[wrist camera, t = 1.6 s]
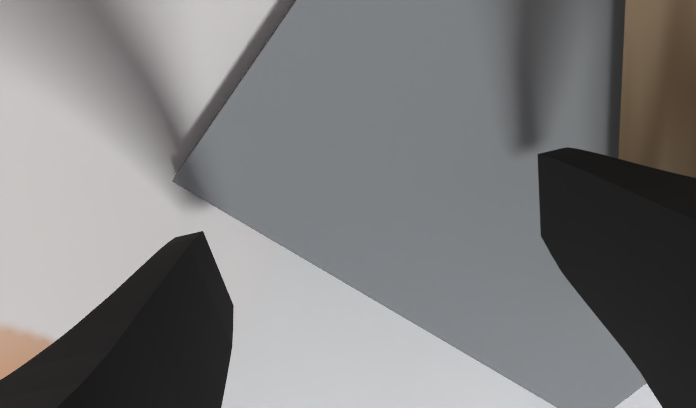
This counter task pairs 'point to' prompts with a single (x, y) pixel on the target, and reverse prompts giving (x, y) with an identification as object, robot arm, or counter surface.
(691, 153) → the gate
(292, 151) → the mat
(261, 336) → the counter surface
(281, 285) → the counter surface
